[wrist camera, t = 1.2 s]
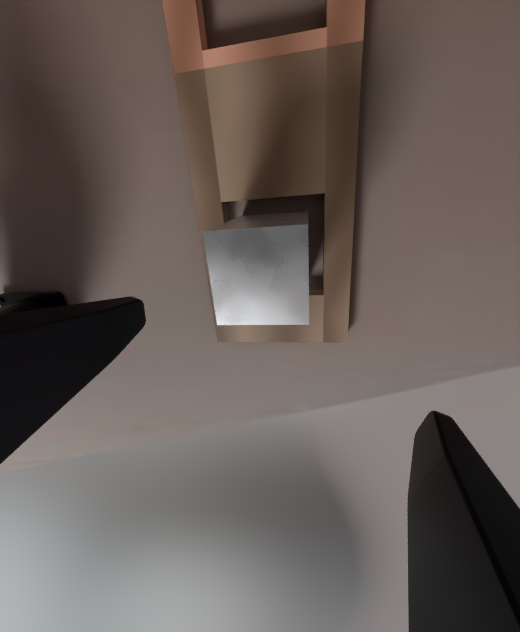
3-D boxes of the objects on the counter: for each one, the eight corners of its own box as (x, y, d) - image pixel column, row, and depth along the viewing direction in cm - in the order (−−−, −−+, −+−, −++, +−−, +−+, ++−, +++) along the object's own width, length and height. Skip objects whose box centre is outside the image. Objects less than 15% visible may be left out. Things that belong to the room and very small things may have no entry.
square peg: (248, 278, 21) (217, 325, 14) (242, 215, 19) (202, 231, 12) (308, 276, 20) (309, 324, 13) (308, 210, 18) (308, 224, 11)
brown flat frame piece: (222, 334, 23) (217, 341, 22) (145, -162, 13) (130, -194, 12) (345, 334, 22) (347, 342, 20) (373, -241, 11) (380, -287, 10)
